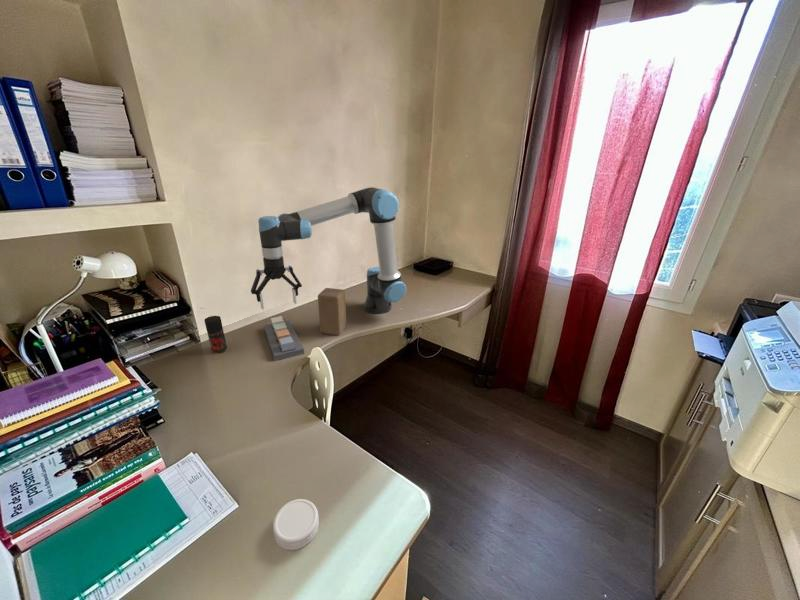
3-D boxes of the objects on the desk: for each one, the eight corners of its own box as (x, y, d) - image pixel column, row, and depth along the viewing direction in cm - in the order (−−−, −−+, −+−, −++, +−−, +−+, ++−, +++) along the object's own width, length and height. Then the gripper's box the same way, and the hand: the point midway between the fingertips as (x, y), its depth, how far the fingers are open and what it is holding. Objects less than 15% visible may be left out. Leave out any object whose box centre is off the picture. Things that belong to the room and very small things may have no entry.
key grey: (282, 322, 163) (281, 316, 161) (284, 327, 159) (283, 320, 158) (271, 324, 161) (270, 318, 159) (273, 329, 157) (272, 322, 155)
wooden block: (339, 336, 157) (337, 297, 149) (319, 333, 159) (316, 295, 151) (347, 326, 166) (345, 288, 158) (328, 323, 168) (325, 286, 160)
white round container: (264, 540, 76) (262, 531, 74) (292, 501, 84) (291, 492, 83) (302, 559, 73) (300, 549, 71) (327, 516, 81) (326, 506, 80)
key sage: (285, 329, 157) (284, 322, 156) (287, 333, 153) (286, 327, 152) (274, 331, 155) (273, 324, 154) (276, 336, 151) (275, 329, 150)
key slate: (291, 343, 146) (291, 336, 145) (294, 348, 142) (293, 341, 141) (280, 346, 144) (279, 338, 143) (282, 351, 140) (281, 344, 139)
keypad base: (289, 324, 167) (289, 320, 166) (304, 353, 144) (303, 348, 143) (264, 329, 161) (263, 325, 160) (274, 360, 138) (274, 355, 137)
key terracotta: (288, 335, 152) (287, 329, 150) (290, 341, 148) (290, 334, 146) (277, 338, 150) (276, 331, 148) (279, 343, 146) (278, 336, 144)
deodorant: (208, 352, 143) (200, 320, 137) (219, 345, 148) (212, 314, 142) (219, 354, 141) (212, 323, 135) (230, 347, 146) (223, 317, 140)
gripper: (302, 250, 142) (306, 297, 150) (238, 257, 131) (246, 307, 139) (306, 255, 136) (310, 303, 144) (240, 262, 125) (248, 314, 133)
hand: (279, 305), depth 142 cm, fingers open, 12 cm apart
